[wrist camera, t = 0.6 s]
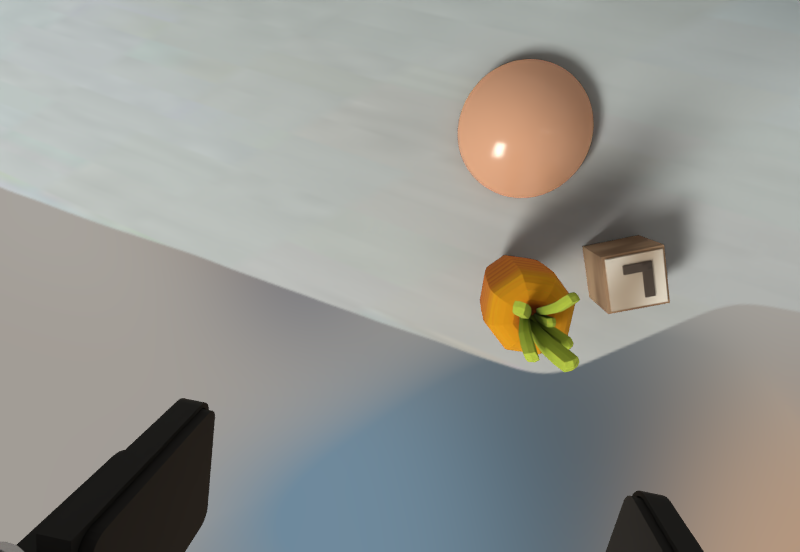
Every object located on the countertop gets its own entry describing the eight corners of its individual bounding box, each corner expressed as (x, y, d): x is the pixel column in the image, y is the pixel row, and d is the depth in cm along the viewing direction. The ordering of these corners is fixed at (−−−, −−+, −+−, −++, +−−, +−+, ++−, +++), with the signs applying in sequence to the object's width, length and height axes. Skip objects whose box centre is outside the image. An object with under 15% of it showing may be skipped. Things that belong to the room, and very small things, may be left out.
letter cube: (637, 235, 34) (666, 245, 30) (643, 286, 35) (672, 304, 31) (582, 246, 35) (602, 258, 31) (589, 297, 36) (610, 315, 32)
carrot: (462, 245, 35) (483, 307, 21) (528, 229, 35) (597, 280, 20) (477, 307, 36) (507, 406, 22) (541, 292, 36) (616, 383, 21)
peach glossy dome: (578, 47, 32) (584, 43, 30) (595, 181, 34) (601, 182, 32) (446, 80, 33) (446, 77, 31) (470, 208, 35) (471, 210, 33)
